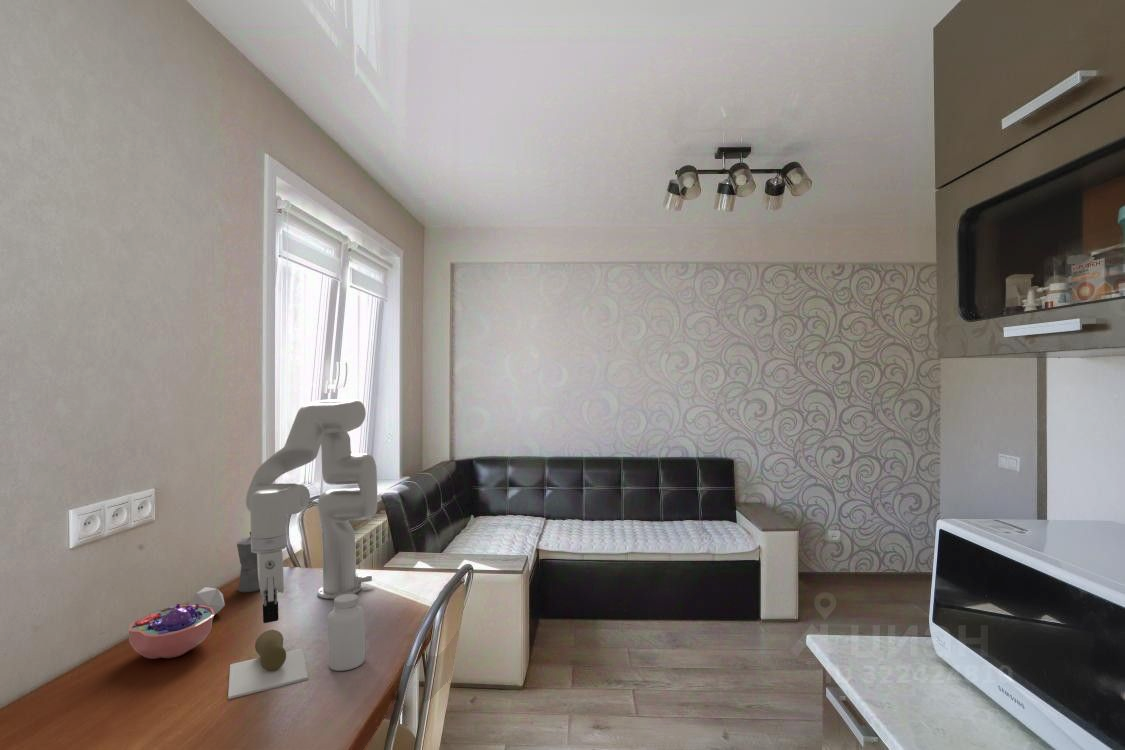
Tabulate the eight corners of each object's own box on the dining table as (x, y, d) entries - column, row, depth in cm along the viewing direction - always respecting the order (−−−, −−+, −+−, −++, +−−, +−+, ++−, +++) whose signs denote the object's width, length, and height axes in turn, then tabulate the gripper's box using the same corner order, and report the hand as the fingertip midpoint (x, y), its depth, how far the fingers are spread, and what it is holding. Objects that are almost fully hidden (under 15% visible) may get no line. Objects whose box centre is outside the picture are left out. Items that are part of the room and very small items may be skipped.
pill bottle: (372, 657, 134) (371, 593, 134) (349, 674, 126) (347, 606, 126) (345, 653, 136) (343, 589, 137) (320, 669, 129) (318, 602, 129)
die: (232, 616, 162) (228, 583, 167) (213, 611, 155) (210, 577, 160) (203, 628, 162) (201, 595, 166) (183, 624, 154) (181, 590, 159)
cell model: (202, 629, 152) (201, 586, 153) (223, 653, 138) (222, 606, 138) (122, 651, 141) (121, 605, 141) (136, 680, 126) (135, 629, 126)
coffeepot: (229, 587, 184) (227, 531, 184) (259, 579, 192) (258, 525, 192) (250, 597, 175) (248, 538, 175) (281, 588, 182) (280, 531, 182)
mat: (301, 650, 139) (301, 648, 139) (307, 679, 125) (307, 676, 125) (230, 666, 131) (230, 664, 131) (228, 699, 117) (228, 696, 117)
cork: (258, 629, 135) (263, 646, 126) (286, 629, 138) (292, 646, 129) (251, 656, 134) (255, 675, 125) (279, 656, 137) (285, 674, 128)
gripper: (288, 547, 130) (290, 628, 130) (285, 533, 144) (286, 607, 143) (251, 553, 127) (252, 636, 127) (251, 538, 140) (252, 613, 140)
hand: (270, 620), depth 135 cm, fingers closed
